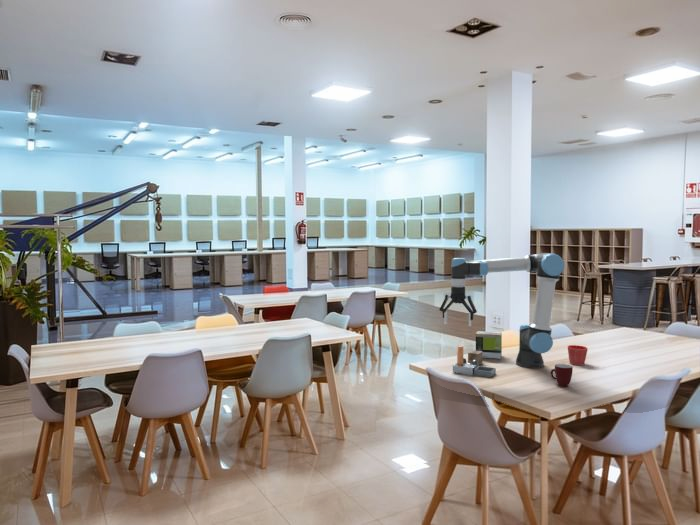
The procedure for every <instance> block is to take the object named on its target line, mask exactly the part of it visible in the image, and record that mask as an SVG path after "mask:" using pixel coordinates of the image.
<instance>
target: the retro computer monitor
mask: <svg viewBox="0 0 700 525" xmlns="http://www.w3.org/2000/svg"><path fill="white" fill-rule="evenodd" d="M502 335H503V334H502V332H501V331H476V332H475V350H476V351H483V354H482V357H483V358H486V359H487V358H488V359H502V351H503V350H502V347H503V346H502V345H503V344H502V343H503V342H502ZM483 358H482V359H483Z"/></svg>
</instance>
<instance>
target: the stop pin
mask: <svg viewBox="0 0 700 525" xmlns="http://www.w3.org/2000/svg"><path fill="white" fill-rule="evenodd" d="M456 347H457V348H456V349H457V351H456V354H457V355H456V356H457V357H456V358H457V359H456V363H457V365H458V366H463V358H464V346H463V345H457V346H456Z"/></svg>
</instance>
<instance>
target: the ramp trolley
mask: <svg viewBox="0 0 700 525" xmlns="http://www.w3.org/2000/svg"><path fill="white" fill-rule="evenodd" d="M479 366H480V365H479V362H478V360H472V362H471V364H469V363H468V362H467V358H464V357H463V366H458V365H457V362H455V363H454V364H453V365H452V373H453V372H456V373H455V374H458V373H462V374H461V375H465V374H468V375H467V376H472V375H473V376H475V375H474V369H476V368H477V367H479Z"/></svg>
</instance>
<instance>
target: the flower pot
mask: <svg viewBox="0 0 700 525" xmlns="http://www.w3.org/2000/svg"><path fill="white" fill-rule="evenodd" d="M567 352H568V353H567V354H568V360H569V364H571V365H574V366H585V362H586V360H587V354H588V347H587V346H583V345H576V344H570V345H567Z"/></svg>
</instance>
